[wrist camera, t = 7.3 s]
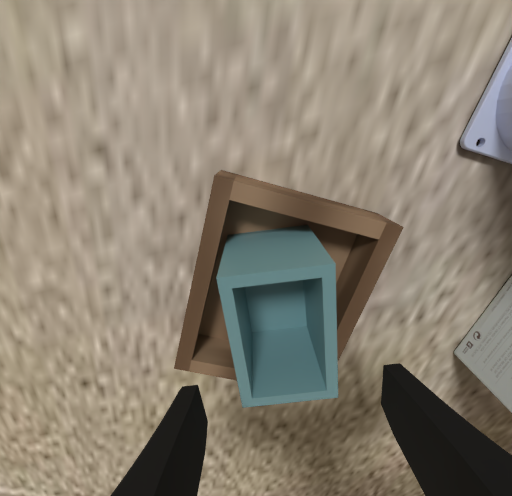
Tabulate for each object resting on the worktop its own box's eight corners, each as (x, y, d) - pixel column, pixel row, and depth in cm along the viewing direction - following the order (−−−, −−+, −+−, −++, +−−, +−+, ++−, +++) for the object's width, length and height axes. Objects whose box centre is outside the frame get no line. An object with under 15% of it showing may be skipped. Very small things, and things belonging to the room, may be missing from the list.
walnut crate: (377, 213, 17) (403, 227, 14) (311, 362, 22) (320, 396, 19) (221, 170, 16) (214, 175, 13) (185, 336, 21) (174, 368, 18)
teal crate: (307, 224, 17) (335, 263, 11) (313, 326, 20) (338, 397, 14) (227, 234, 17) (216, 278, 12) (245, 334, 20) (242, 407, 14)
